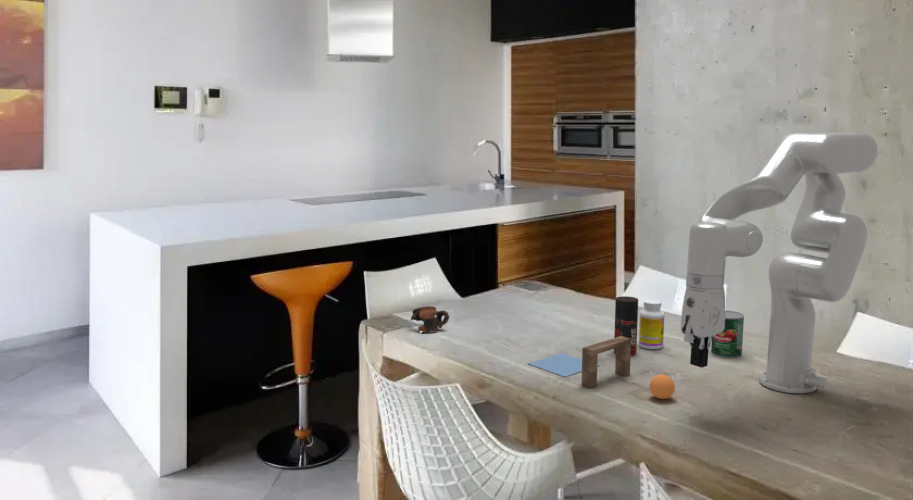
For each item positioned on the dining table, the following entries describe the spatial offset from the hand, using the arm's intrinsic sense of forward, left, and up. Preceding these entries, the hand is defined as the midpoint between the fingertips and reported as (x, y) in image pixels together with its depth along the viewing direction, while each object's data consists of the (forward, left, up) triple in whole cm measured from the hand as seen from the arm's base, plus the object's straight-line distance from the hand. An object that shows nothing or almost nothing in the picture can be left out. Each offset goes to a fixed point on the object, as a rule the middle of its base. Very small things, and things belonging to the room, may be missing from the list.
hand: (698, 365), depth 157 cm
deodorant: (+35, -21, -11) cm, 42 cm away
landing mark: (+39, -1, -11) cm, 41 cm away
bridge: (+25, -1, -11) cm, 27 cm away
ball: (+9, -1, -8) cm, 12 cm away
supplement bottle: (+34, -31, -11) cm, 47 cm away
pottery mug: (+88, +6, -11) cm, 89 cm away
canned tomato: (+17, -41, -11) cm, 46 cm away
